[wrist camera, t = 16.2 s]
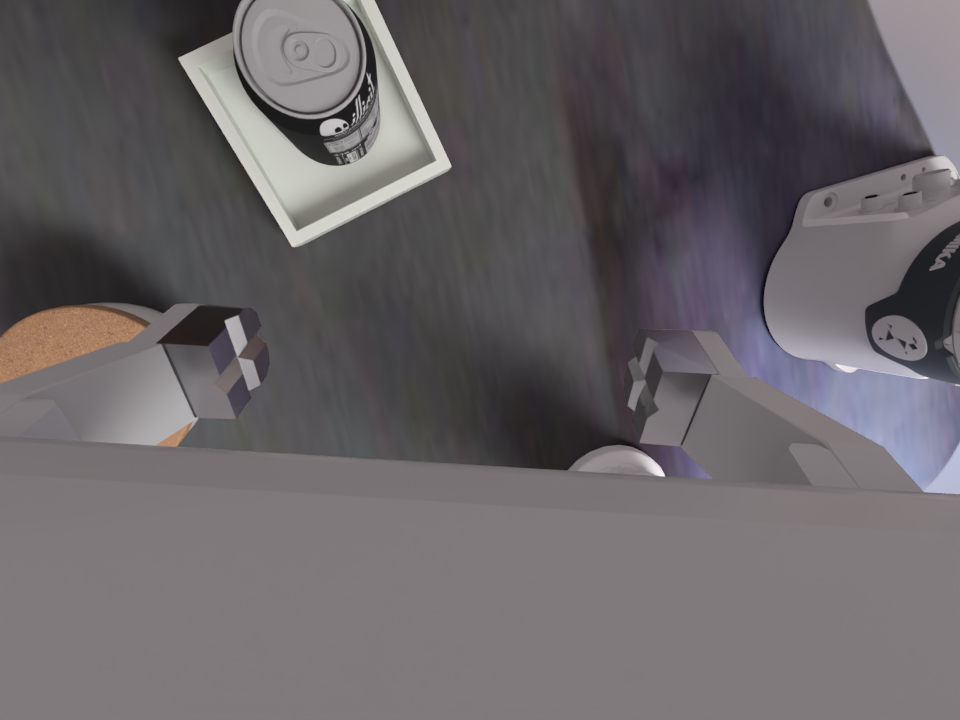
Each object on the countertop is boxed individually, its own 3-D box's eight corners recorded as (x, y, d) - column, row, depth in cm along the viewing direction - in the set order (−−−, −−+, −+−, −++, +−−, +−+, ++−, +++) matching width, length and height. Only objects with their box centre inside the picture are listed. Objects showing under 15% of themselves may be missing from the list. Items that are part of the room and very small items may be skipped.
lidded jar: (255, 403, 36) (212, 455, 28) (117, 448, 35) (26, 518, 26) (193, 273, 33) (123, 284, 24) (40, 318, 32) (-93, 347, 23)
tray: (362, -9, 31) (360, -29, 29) (447, 171, 35) (451, 166, 33) (193, 71, 30) (177, 58, 28) (298, 246, 34) (292, 247, 32)
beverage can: (278, 59, 31) (213, -50, 19) (379, 69, 32) (373, -28, 20) (286, 164, 32) (229, 122, 21) (381, 170, 33) (377, 132, 22)
